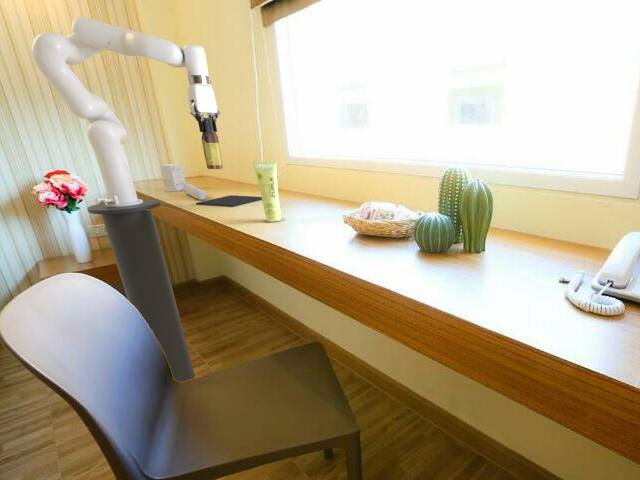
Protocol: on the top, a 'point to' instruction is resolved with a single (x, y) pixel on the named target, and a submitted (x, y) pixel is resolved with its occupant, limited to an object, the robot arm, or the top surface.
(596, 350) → the top surface
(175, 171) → the small box
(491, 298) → the top surface
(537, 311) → the top surface
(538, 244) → the top surface
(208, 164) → the sauce bottle
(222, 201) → the mat
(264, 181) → the tube
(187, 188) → the tube
